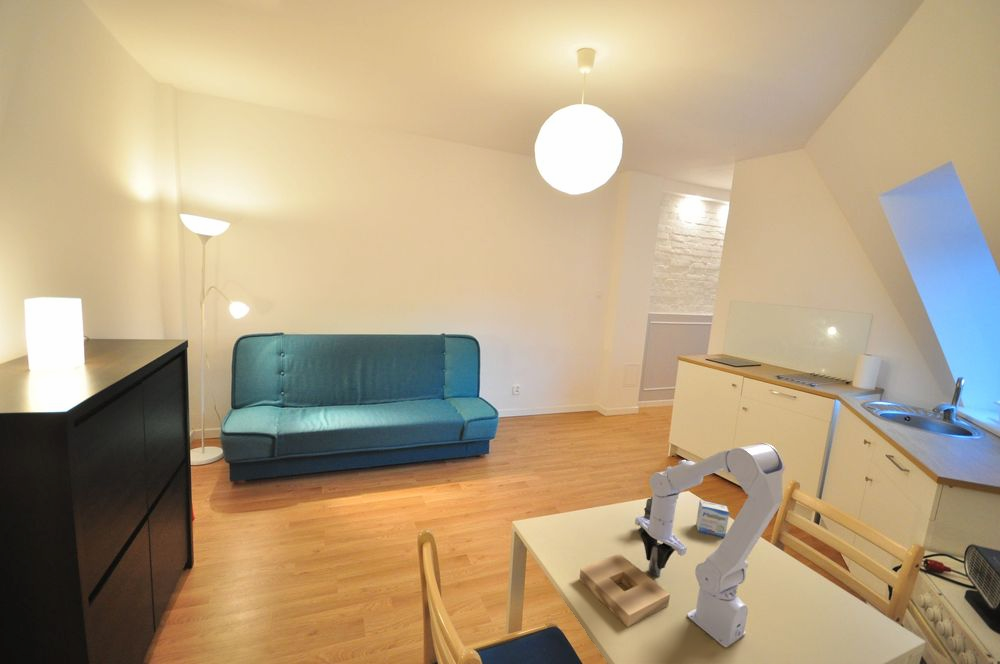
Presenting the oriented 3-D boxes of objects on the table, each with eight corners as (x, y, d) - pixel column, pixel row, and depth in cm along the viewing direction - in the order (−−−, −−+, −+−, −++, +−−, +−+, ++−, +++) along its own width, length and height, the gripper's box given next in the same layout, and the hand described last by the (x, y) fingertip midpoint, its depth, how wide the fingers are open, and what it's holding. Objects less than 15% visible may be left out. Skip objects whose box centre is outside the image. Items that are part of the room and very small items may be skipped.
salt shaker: (654, 528, 130) (659, 492, 129) (659, 540, 124) (665, 503, 123) (635, 525, 131) (640, 490, 129) (639, 537, 125) (644, 500, 123)
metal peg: (662, 575, 109) (666, 547, 108) (654, 578, 108) (658, 550, 107) (653, 567, 112) (656, 540, 111) (645, 571, 110) (649, 543, 109)
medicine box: (697, 531, 130) (701, 506, 129) (695, 524, 134) (699, 499, 133) (725, 538, 128) (729, 512, 127) (722, 530, 132) (726, 504, 131)
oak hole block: (668, 605, 99) (670, 594, 99) (627, 627, 92) (629, 615, 92) (618, 563, 113) (619, 553, 112) (579, 579, 106) (580, 568, 105)
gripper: (697, 527, 104) (689, 576, 105) (649, 498, 116) (643, 542, 118) (679, 534, 100) (671, 585, 102) (632, 504, 112) (626, 549, 114)
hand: (655, 563), depth 110 cm, fingers closed on metal peg, 3 cm apart
